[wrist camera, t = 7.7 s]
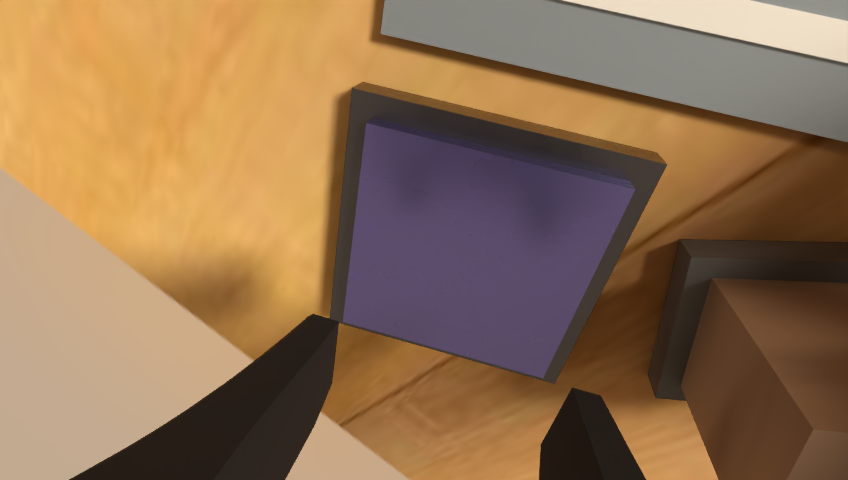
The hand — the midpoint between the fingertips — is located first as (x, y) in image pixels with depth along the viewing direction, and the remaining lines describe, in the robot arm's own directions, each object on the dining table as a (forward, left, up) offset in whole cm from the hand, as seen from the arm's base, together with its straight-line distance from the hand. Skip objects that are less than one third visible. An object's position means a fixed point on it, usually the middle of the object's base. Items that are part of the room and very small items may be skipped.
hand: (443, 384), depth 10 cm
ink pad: (0, 0, -6) cm, 6 cm away
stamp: (-10, 0, -7) cm, 12 cm away
